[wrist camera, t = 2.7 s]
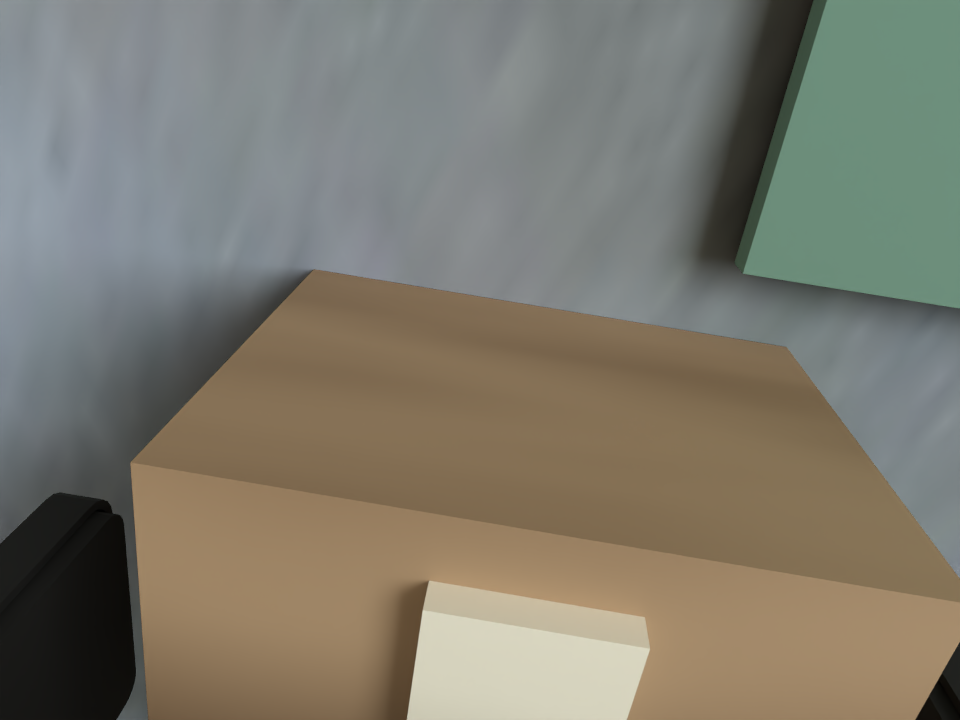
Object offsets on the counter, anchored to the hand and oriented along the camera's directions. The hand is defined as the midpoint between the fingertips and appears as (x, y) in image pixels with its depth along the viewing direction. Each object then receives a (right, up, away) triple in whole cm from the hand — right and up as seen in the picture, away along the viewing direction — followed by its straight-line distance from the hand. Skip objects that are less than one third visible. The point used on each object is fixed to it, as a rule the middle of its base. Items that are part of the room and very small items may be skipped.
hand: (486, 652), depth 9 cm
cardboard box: (0, +1, +2) cm, 2 cm away
